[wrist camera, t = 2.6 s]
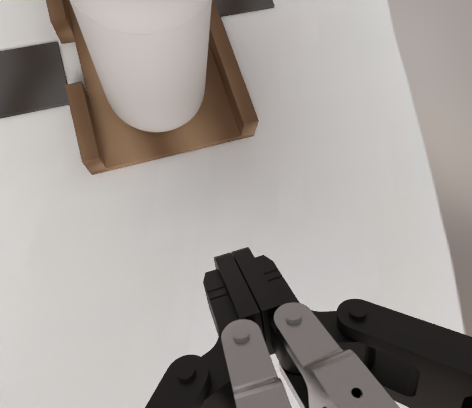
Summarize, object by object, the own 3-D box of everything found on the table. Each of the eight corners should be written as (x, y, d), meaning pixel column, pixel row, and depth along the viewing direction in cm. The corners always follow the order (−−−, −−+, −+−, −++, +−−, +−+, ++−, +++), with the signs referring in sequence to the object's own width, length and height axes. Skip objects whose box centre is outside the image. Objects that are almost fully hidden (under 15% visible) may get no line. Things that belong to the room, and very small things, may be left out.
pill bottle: (193, 146, 29) (193, -18, 14) (94, 121, 28) (-6, -72, 14) (215, 66, 31) (234, -142, 17) (124, 42, 31) (65, -191, 17)
